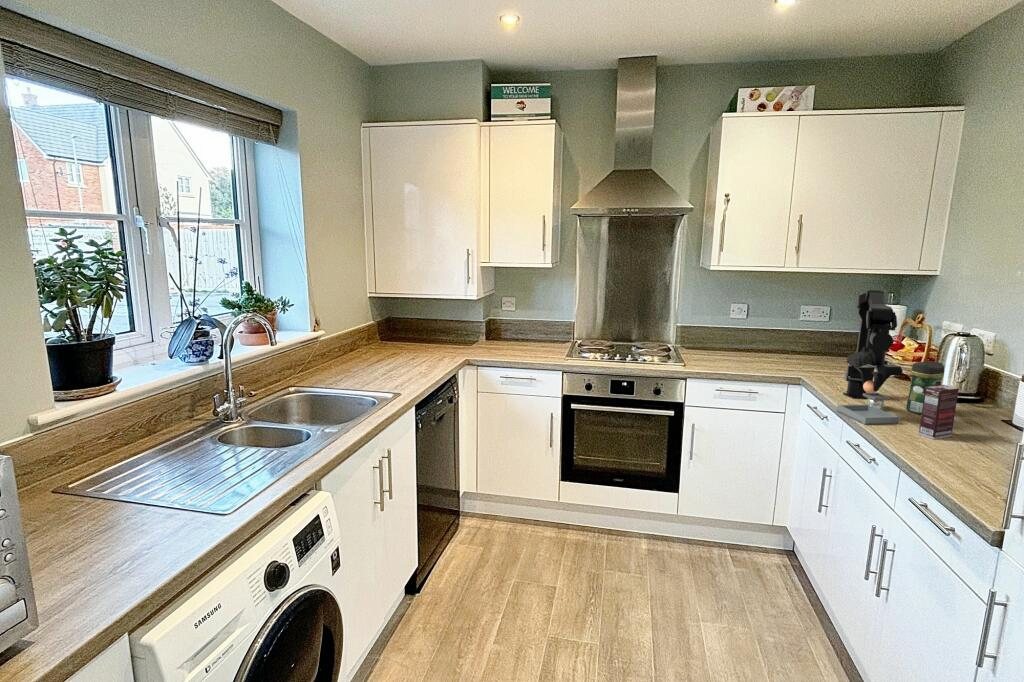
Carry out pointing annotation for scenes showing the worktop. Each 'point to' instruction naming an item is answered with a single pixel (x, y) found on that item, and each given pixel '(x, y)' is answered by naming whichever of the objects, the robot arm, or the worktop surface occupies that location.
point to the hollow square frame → (876, 399)
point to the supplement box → (938, 411)
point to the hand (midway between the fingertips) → (870, 389)
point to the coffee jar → (923, 383)
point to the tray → (867, 414)
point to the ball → (869, 387)
